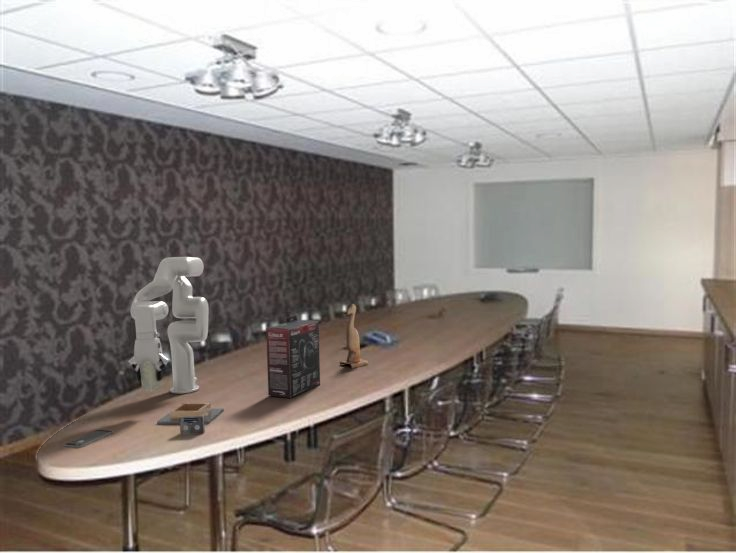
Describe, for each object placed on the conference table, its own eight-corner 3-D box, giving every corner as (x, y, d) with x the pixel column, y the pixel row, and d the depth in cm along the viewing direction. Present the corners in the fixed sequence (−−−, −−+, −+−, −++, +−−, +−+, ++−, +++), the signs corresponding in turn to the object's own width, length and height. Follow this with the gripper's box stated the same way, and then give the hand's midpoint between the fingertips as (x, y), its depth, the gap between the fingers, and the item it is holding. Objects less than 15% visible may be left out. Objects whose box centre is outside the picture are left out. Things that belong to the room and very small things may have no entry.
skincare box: (160, 389, 241) (158, 358, 240) (151, 392, 237) (148, 361, 236) (150, 387, 244) (148, 357, 243) (141, 390, 241) (138, 359, 239)
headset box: (298, 382, 282) (295, 312, 280) (322, 384, 277) (319, 312, 274) (267, 396, 260) (263, 320, 258) (292, 399, 255) (288, 321, 252)
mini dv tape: (204, 432, 217) (203, 415, 216) (203, 433, 215) (202, 417, 215) (181, 432, 217) (180, 416, 216) (180, 434, 215) (179, 417, 215)
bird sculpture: (338, 366, 315) (334, 305, 312) (355, 361, 323) (351, 301, 320) (352, 369, 307) (348, 306, 303) (369, 364, 315) (366, 303, 311)
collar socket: (175, 411, 244) (174, 401, 244) (223, 411, 241) (223, 401, 241) (157, 424, 228) (156, 413, 228) (208, 423, 226) (208, 413, 225)
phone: (97, 432, 223) (62, 447, 208) (97, 429, 223) (62, 444, 208) (114, 433, 220) (80, 449, 205) (114, 430, 220) (80, 446, 205)
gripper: (172, 333, 241) (175, 377, 243) (130, 334, 243) (134, 377, 245) (163, 337, 234) (167, 382, 236) (120, 338, 236) (124, 383, 238)
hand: (150, 379), depth 240 cm, fingers closed on skincare box, 7 cm apart
